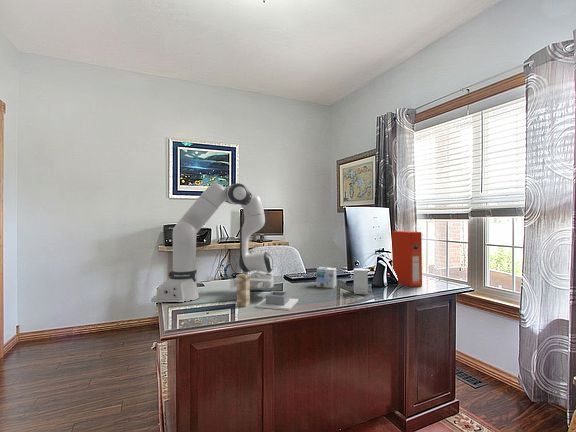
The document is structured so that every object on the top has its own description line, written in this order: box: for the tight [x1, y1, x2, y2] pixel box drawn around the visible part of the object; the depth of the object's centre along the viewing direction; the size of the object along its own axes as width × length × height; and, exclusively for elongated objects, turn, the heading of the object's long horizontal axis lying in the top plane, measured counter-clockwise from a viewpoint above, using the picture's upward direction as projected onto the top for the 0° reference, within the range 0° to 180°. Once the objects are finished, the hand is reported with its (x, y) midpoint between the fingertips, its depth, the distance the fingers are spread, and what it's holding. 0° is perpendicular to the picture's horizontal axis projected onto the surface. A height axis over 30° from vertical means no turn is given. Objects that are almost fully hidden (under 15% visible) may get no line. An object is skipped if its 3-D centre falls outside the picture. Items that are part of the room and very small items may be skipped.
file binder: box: [391, 230, 423, 288], centre depth 187 cm, size 8×17×32 cm, turn 17°
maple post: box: [236, 273, 251, 308], centre depth 142 cm, size 4×4×14 cm
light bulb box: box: [315, 266, 337, 289], centre depth 181 cm, size 11×7×11 cm, turn 68°
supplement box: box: [353, 267, 369, 295], centre depth 166 cm, size 7×7×13 cm
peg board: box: [255, 290, 299, 311], centre depth 144 cm, size 16×16×5 cm
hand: (247, 285), depth 147 cm, fingers open, 8 cm apart
